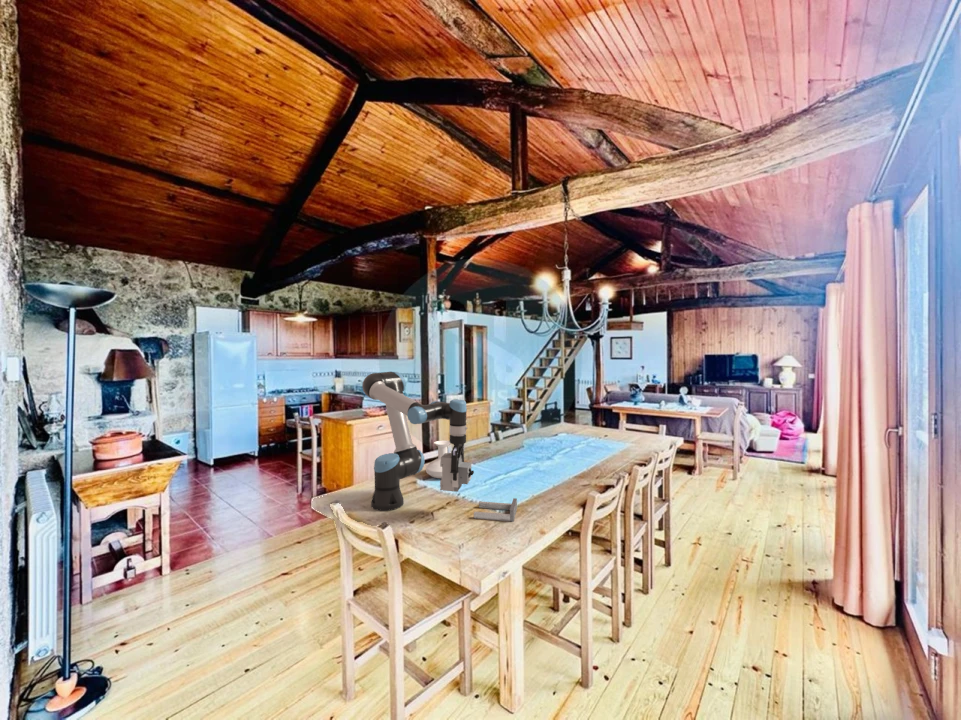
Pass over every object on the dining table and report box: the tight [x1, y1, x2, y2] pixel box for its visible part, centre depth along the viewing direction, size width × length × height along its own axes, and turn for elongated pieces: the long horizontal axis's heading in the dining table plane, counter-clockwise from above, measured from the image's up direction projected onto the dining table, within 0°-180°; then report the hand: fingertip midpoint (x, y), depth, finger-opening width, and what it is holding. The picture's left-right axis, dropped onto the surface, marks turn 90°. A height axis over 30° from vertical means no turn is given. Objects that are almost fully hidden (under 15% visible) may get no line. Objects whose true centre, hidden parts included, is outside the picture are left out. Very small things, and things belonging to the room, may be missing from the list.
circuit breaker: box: [439, 452, 475, 493], centre depth 185 cm, size 8×14×15 cm, turn 78°
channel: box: [473, 497, 518, 522], centre depth 184 cm, size 18×13×5 cm
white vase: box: [425, 439, 452, 479], centre depth 237 cm, size 20×20×19 cm
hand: (457, 483), depth 185 cm, fingers closed on circuit breaker, 7 cm apart
